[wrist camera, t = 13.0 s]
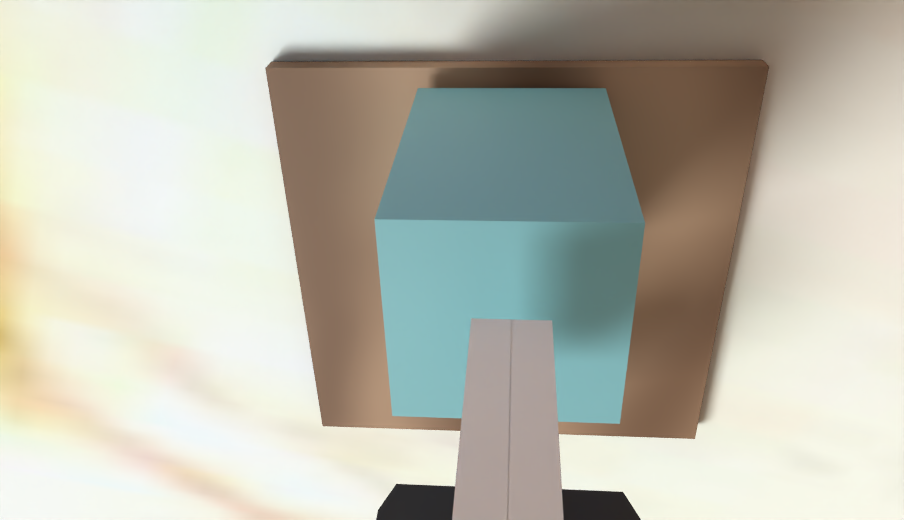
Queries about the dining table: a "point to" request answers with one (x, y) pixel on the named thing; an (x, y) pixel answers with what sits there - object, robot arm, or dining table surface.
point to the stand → (653, 173)
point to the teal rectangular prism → (509, 242)
